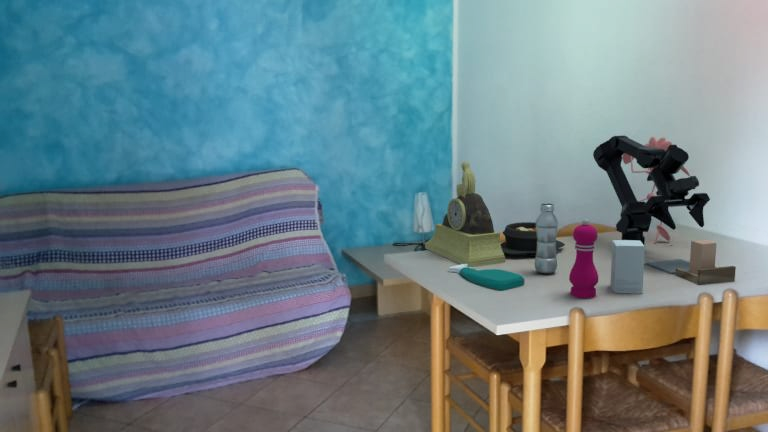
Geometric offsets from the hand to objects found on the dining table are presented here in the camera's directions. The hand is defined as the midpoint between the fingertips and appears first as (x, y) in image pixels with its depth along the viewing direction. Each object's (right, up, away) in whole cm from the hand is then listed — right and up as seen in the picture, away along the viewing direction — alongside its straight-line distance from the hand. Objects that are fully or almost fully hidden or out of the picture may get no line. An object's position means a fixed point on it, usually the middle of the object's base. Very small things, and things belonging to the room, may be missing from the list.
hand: (688, 227), depth 199 cm
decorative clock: (-61, -10, +26) cm, 67 cm away
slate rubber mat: (-1, -12, +7) cm, 13 cm away
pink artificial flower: (+7, -5, +44) cm, 45 cm away
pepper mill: (-35, -17, -18) cm, 43 cm away
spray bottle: (-58, -15, 0) cm, 60 cm away
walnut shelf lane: (+2, -14, -5) cm, 15 cm away
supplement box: (-22, -16, -14) cm, 31 cm away
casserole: (-39, -9, +29) cm, 50 cm away
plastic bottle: (-39, -13, +4) cm, 42 cm away
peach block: (+2, -14, -4) cm, 14 cm away
